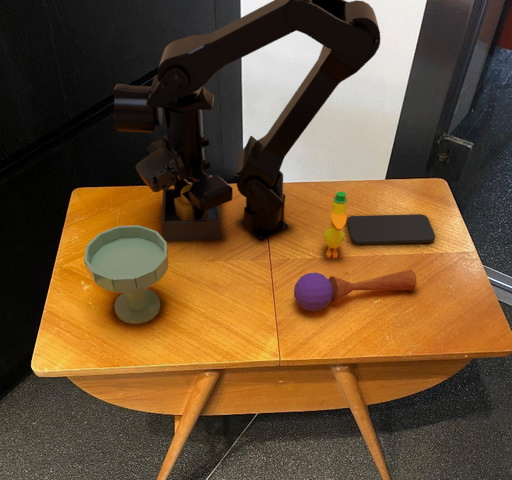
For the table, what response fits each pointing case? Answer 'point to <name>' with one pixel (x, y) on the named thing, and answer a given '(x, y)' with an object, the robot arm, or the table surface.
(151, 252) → the footed bowl
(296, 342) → the table surface
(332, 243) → the toy figure
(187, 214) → the orange block
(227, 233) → the table surface
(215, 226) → the bin
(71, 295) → the table surface
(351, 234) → the phone
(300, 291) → the kendama
